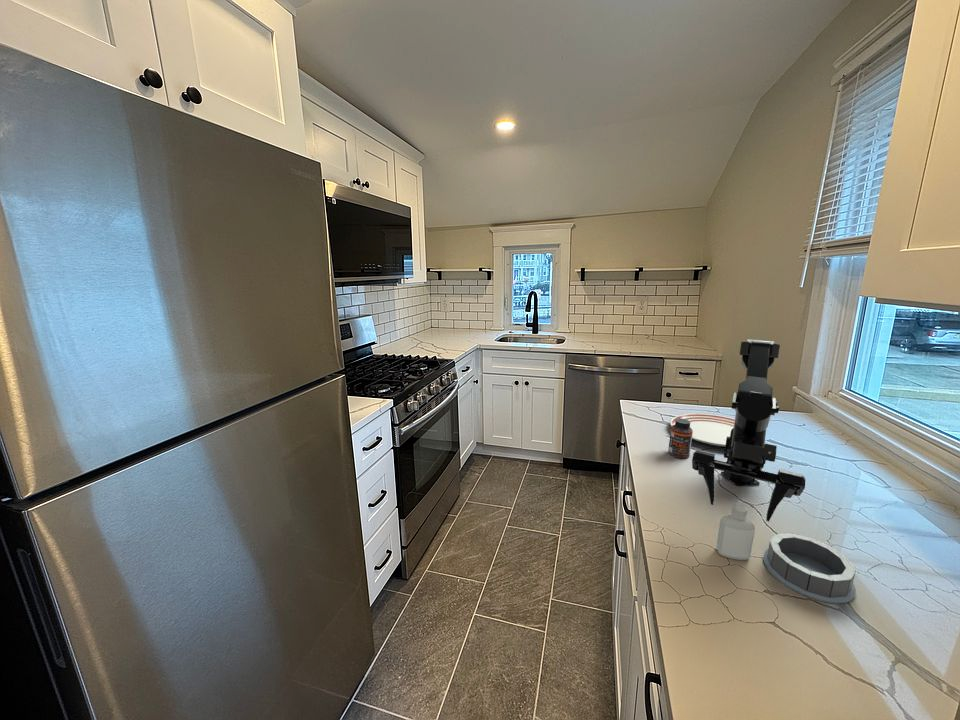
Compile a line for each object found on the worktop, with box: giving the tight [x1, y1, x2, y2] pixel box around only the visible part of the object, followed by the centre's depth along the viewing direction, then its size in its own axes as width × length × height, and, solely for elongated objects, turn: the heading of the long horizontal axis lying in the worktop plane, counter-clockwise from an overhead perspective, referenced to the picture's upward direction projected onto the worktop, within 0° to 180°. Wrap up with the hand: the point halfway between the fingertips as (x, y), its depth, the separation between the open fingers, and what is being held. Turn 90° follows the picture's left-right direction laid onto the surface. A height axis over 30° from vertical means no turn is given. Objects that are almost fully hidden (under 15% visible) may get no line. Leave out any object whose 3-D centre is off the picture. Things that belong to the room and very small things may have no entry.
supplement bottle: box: [667, 418, 693, 459], centre depth 114 cm, size 6×6×11 cm
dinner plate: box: [669, 413, 735, 448], centre depth 128 cm, size 28×27×3 cm
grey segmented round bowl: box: [763, 533, 857, 605], centre depth 69 cm, size 13×13×4 cm
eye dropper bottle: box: [715, 500, 756, 561], centre depth 73 cm, size 4×6×12 cm
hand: (738, 512), depth 74 cm, fingers open, 9 cm apart
